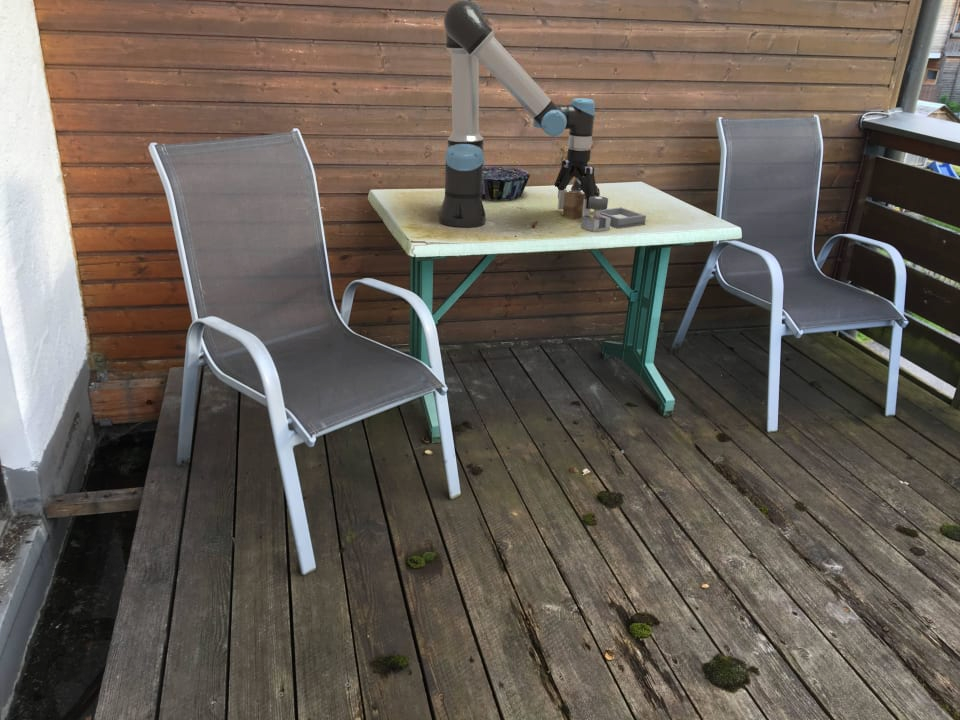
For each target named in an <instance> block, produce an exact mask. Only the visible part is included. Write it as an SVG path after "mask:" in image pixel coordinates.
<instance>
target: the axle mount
mask: <svg viewBox="0 0 960 720" xmlns="http://www.w3.org/2000/svg"><path fill="white" fill-rule="evenodd" d="M610 221H611V218H609V217H606V216H604V215H601V214H600V217H599V218H595V217H593V216H591V215H590V216H588V215H585V216H582V218H581V226H580V227H581V229H583V230H586V229H587V231H589V230H590V232H592V233H596V232H595V231H597V232H603V231H602V230H604V231H609V230H611V226H610Z"/></svg>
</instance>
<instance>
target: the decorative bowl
mask: <svg viewBox="0 0 960 720" xmlns="http://www.w3.org/2000/svg"><path fill="white" fill-rule="evenodd" d="M530 177H531V174H530V173H529V172H528V171H526V170H524V169H519V168H515V167H513V168H512V167H506V166H494V165H493V166H490V165H489V166H488V165H487V166H485V165H483V170H482V190H481V200H488V201H493V202H495V201H496V202H497V201H498V202H499V201H512V200H516V199H518V198H521V197H522V195H523V193H524V190H525V188H526V186H527V183H528V181H529V179H530Z"/></svg>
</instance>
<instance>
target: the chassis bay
mask: <svg viewBox="0 0 960 720" xmlns="http://www.w3.org/2000/svg"><path fill="white" fill-rule="evenodd" d="M600 214H601V215H604V216H606V217H609V218H611V221H610V227H613V228H615V229H623V228H631V227H638V226H644V225H645V224H646V221H647V220H646V219H647V215H645V214H642V213H640V212H636V211H634V210H632V209H631V210H630V209H628V208H625V207H622V206H621V207H613V208H607V209H606V210H600Z"/></svg>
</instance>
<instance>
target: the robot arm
mask: <svg viewBox="0 0 960 720" xmlns="http://www.w3.org/2000/svg"><path fill="white" fill-rule="evenodd" d="M443 25H444V29H445V39H446V40H445V42H446V44H445V46H446V50H447V51H448V52H449V53H450V55H451V59H450V60H451V61H450V63H451V115H452V116H451V119H452V120H451V122H452V124H451V125H452V126H451V127H452V130H451V131H452V132H451V134H450V135H448V137H447V149H446V151H445V156H444V161H445V171H444V173H445V176H444V177H445V178H444V179H445V181H444V198H443V202H442V203H441V207H440V210H439V213H438V222H440V224H443V225H446V226H449V227H457V228H473V227H480V226H483V225H485V224H486V216H487V215H486V211H485V208H484V204H483V199H481V190H482V170H483V166H485V156H484V137H483V136H482V135H481V134H480V129H479V127H480V126H479V122H480V121H479V120H480V117H479V115H480V114H479V113H480V109H479V108H480V107H479V104H480V101H479V99H480V97H479V96H480V93H479V92H480V91H479V89H480V88H479V87H480V83H479V82H480V80H479V79H480V76H479V75H480V72H479V71H480V70H479V69H480V63H479V62H481V63H482V65H483V66H484V67H485V68H486V69H487V70H488V71H489V72H490V73H491V74H492V75H493V76H494V78H495V79H496V80H497V81H498V82H499V83H500V84H501V85H502V86H503V87H504V88H505V90H507V91H508V93H510V95H511V96H512V97H513V98H514V99H515V101H516V102H518V103H519V105H521V106H522V108H523V109H524V110H525V111H526V112H527V113H528V114H529V115H530V117H532V125H533V127H534V128H535V129H536V128H539V129H541V130H542V131H543V132H544V133H545V134H546V135H548V136H550V137H556V136H559V135H561V134H562V133H564V131H565V130H569V132H568V140H567V141H568V143H567V147H568V149H567V154H566V156H567V157H566V159H567V160H562V162H561V167H560V170H559V172H558V175H557V177H556V180H555V182H554V187H555V188H557V189H558V193H557V195H558V196H557V199H558V201H557V203H558V204H557V210H558V211H559V210H563V206H564V194H565V192H568V190H567V187H568V185H569V184H570V183H571V181H572V179H573V178H575V179H576V178H578V180H579V181H580V182H581V185H582V188H583V191H584V192H583V191H582V192H583V193H584V194H585V198H584V203H583V213H582V216H585V215H588V216H591V210H592V209H590V208H588V203H589V197H591V196H598V194H597V189H596V185H597V183H596V178H595V177H596V176H595V167H594V166H590V167H589V166H588V163H589V162H590V161H591V148H592V144H593V143H592V141H593V140H592V139H593V132H594V131H593V130H594V123H595V116H596V115H595V112H596V111H595V107H596V102H595V101H594V100H593V99H592V98H585V97H582V98H581V97H578V98H577V97H576V98H573V99H572V100H571V103H570V104H555V103H554V102H553V101H552V99H551V98H550V97H549V96H548V95H547V93H545V92H544V90H543V89H542V88H541V87H540V86H539V85H538V84H537V82H535V80H534V79H533V78H532V77H531V76H530V75H529V74H528V73H527V71H525V69H524V68H523V66H521V65H520V64H519V63H518V62H517V60H516V59H515V58H514V57H513V56H512V55H511V54H510V53H509V52H508V51H507V49H505V47H504V46H503V45H502V44H501V43H500V42H499V41H498V39H496V37H495V33H494V30H493V29H492V28H491V27H490V25H489V24H488V23H487V21H486V19H485V15H484V13H483V11H482V8H481V7H480V6H479V5H478V4H477V3H476V2H474V1H471V0H458V1H455V2H453V3H452V4H451V5H449V7H448V8H446V11H445V14H444V18H443ZM583 176H584V177H583Z"/></svg>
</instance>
